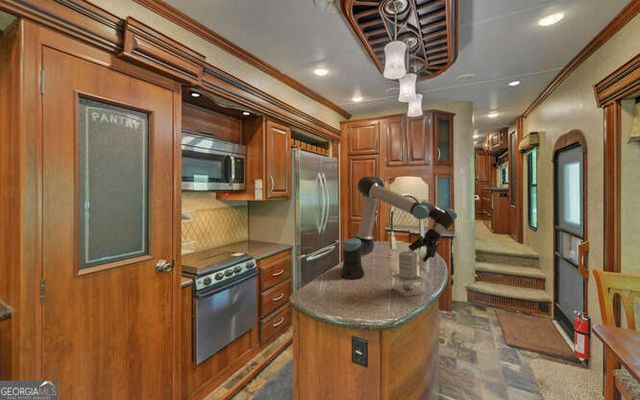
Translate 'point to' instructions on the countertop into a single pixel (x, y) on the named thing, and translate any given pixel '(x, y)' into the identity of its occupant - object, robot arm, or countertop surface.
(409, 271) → the supplement box
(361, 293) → the countertop surface
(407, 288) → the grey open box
